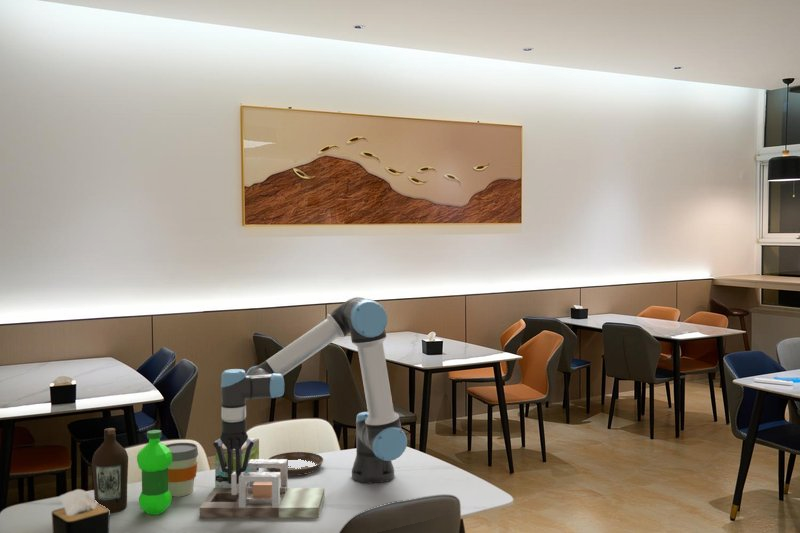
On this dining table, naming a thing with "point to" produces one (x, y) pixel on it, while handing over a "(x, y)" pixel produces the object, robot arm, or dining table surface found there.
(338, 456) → the dining table surface
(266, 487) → the terracotta block
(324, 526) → the dining table surface
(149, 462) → the plastic bottle
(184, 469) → the reusable coffee cup
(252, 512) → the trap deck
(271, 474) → the tunnel
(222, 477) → the tea box
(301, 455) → the plant saucer
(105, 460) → the olive oil
